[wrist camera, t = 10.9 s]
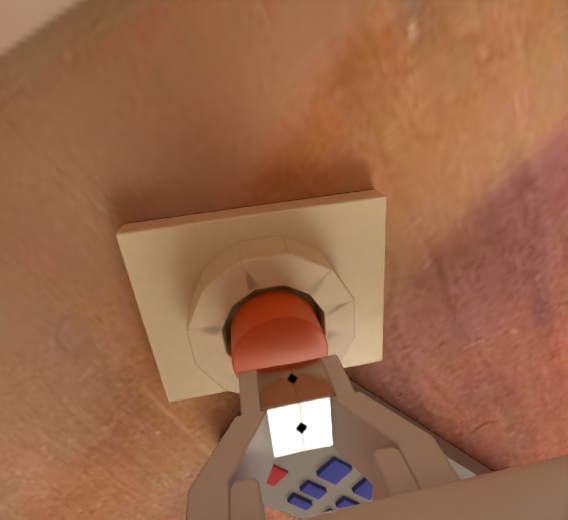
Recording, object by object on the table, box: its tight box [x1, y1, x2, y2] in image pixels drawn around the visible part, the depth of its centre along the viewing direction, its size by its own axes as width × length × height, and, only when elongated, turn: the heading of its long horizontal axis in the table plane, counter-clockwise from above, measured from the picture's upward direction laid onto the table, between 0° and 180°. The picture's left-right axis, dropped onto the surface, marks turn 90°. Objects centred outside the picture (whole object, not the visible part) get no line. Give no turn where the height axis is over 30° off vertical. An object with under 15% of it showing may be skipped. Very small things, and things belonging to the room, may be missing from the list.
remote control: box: [220, 379, 493, 518], centre depth 21 cm, size 8×23×2 cm, turn 48°
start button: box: [231, 290, 328, 379], centre depth 12 cm, size 3×3×2 cm
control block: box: [116, 190, 386, 402], centre depth 14 cm, size 10×8×3 cm
